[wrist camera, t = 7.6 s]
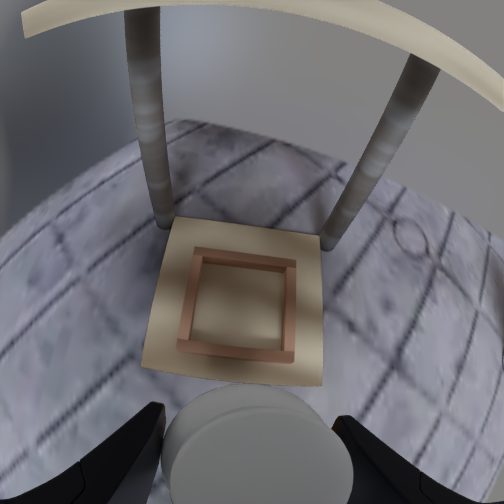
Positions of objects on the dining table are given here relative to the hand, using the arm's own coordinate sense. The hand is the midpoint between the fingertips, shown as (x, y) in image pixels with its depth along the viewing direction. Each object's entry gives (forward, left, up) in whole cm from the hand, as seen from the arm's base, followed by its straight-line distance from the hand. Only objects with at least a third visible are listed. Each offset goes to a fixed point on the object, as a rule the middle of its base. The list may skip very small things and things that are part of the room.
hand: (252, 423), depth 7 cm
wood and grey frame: (+9, -4, -13) cm, 16 cm away
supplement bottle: (-1, +1, -7) cm, 7 cm away
